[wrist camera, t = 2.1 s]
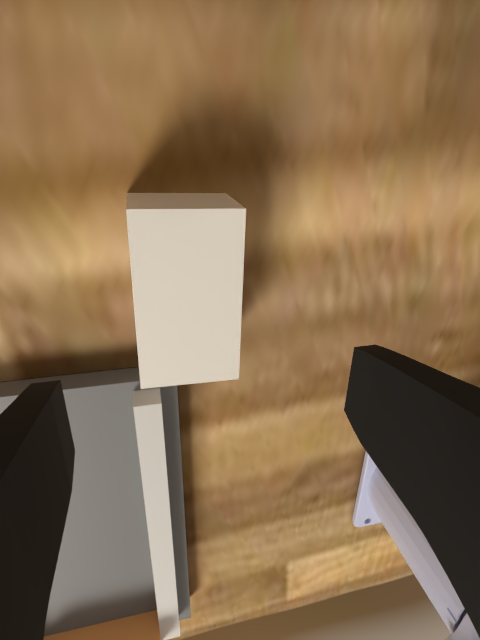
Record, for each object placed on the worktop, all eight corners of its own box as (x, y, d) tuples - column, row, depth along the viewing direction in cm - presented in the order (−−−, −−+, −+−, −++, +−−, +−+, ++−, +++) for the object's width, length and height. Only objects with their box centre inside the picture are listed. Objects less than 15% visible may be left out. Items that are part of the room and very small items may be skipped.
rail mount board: (174, 363, 20) (183, 418, 16) (188, 599, 28) (197, 670, 24) (-85, 391, 18) (-141, 463, 14) (14, 640, 26) (-6, 726, 22)
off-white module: (225, 192, 17) (246, 208, 14) (222, 338, 20) (238, 378, 17) (126, 192, 16) (126, 209, 13) (139, 345, 19) (140, 389, 16)
